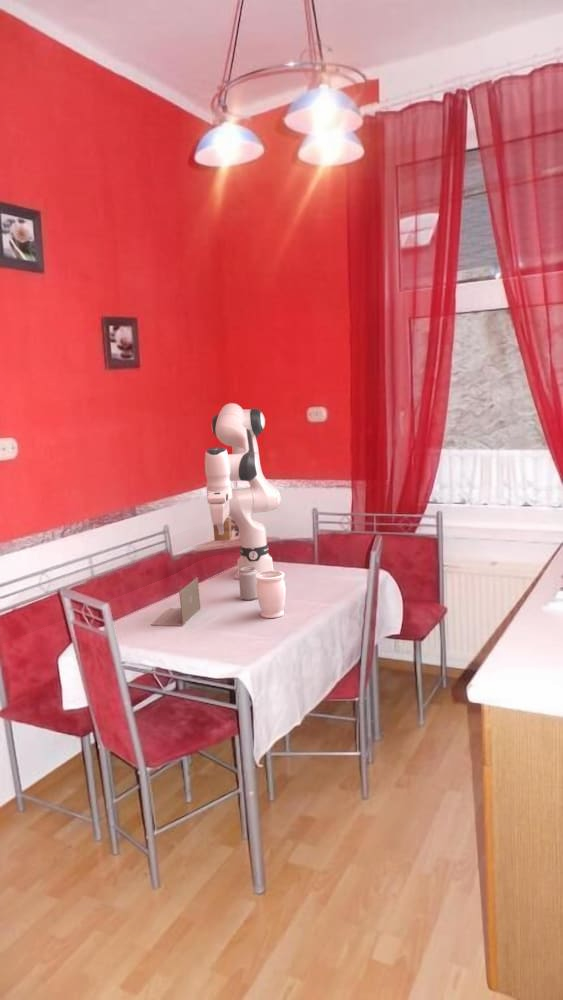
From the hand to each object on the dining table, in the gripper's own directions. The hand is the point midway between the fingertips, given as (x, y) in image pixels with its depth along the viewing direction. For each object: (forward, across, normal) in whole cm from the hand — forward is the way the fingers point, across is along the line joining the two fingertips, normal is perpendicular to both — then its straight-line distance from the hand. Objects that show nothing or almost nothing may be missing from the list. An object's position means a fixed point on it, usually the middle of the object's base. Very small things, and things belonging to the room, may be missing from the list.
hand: (222, 532), depth 254 cm
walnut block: (+2, 0, 0) cm, 2 cm away
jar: (+31, +2, +16) cm, 35 cm away
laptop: (+31, 0, -19) cm, 37 cm away
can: (+31, -19, +6) cm, 37 cm away
